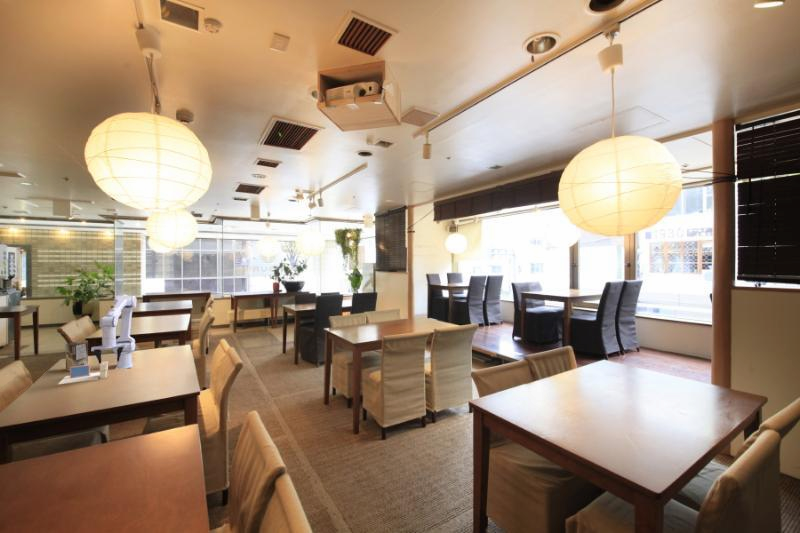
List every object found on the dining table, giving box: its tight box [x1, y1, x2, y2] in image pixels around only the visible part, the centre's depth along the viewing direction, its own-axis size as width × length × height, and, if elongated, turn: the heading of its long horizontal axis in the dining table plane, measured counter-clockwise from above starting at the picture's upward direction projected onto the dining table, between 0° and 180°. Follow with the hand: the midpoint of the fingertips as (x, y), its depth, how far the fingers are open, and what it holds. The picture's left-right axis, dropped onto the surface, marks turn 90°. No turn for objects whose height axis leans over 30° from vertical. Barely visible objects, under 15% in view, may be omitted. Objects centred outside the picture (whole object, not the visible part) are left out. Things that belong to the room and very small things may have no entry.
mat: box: [57, 371, 100, 385], centre depth 187 cm, size 14×16×1 cm
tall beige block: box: [99, 361, 109, 379], centre depth 190 cm, size 6×2×8 cm, turn 32°
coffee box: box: [64, 341, 89, 372], centre depth 201 cm, size 9×6×16 cm
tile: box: [69, 364, 91, 378], centre depth 189 cm, size 2×8×6 cm, turn 122°
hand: (109, 362), depth 187 cm, fingers open, 7 cm apart
